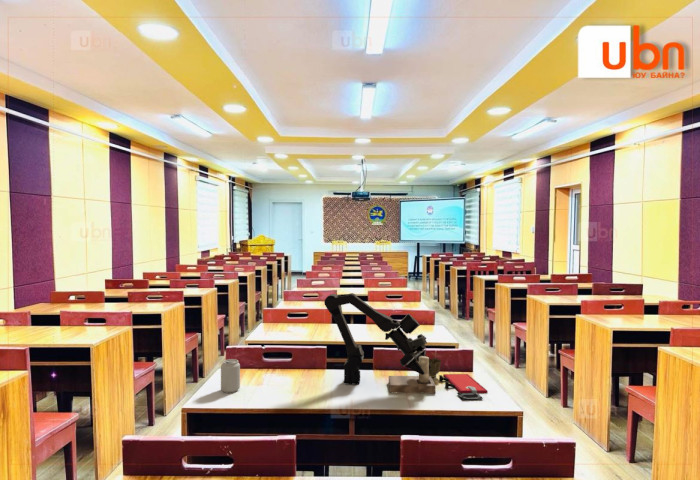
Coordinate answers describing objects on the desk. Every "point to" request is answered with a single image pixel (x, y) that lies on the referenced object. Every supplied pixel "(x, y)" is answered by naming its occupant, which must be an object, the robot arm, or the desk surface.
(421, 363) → the birch dowel
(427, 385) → the walnut board
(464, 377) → the red board with handle
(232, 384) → the can
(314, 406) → the desk surface
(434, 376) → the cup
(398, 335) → the robot arm
